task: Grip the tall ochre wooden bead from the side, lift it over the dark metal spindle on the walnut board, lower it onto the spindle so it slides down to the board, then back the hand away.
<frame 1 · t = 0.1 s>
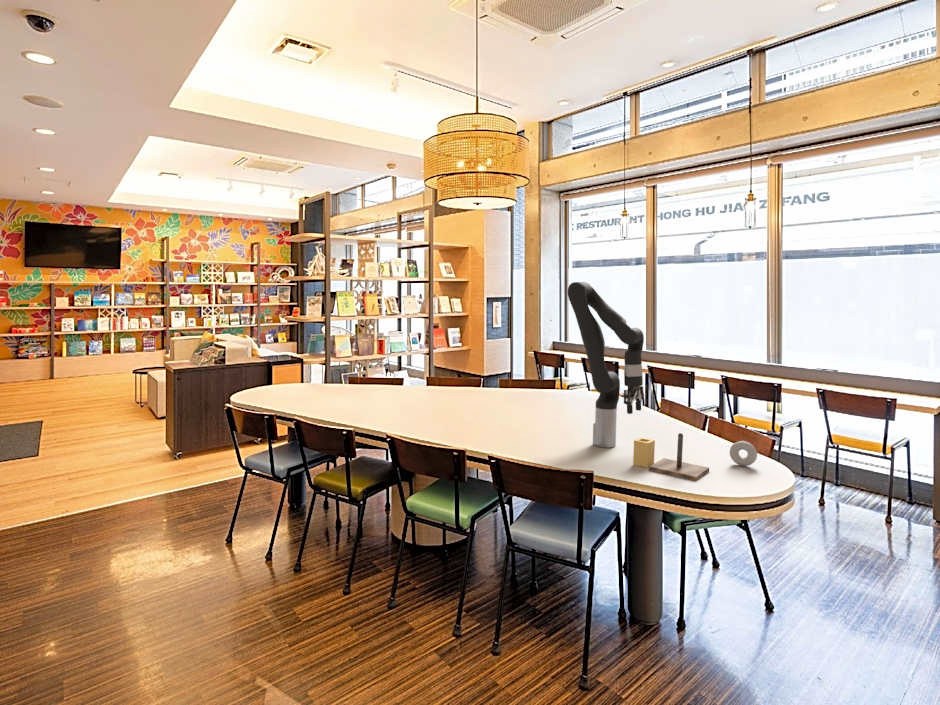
hand: (634, 411, 241), 17 cm above the table, tool pointing down, fingers open, 8 cm apart
spindle stand: (678, 470, 216), on the table
bead: (643, 464, 224), on the table
donut: (742, 466, 222), on the table
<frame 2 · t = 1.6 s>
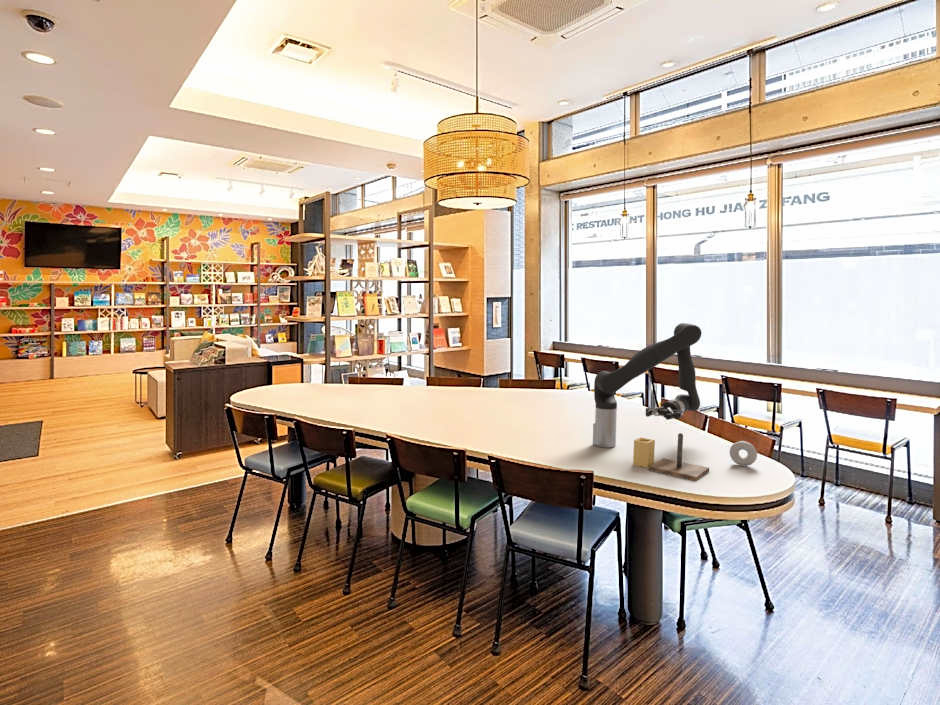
hand: (656, 415, 230), 18 cm above the table, tool horizontal, fingers open, 8 cm apart
nothing on the table moved.
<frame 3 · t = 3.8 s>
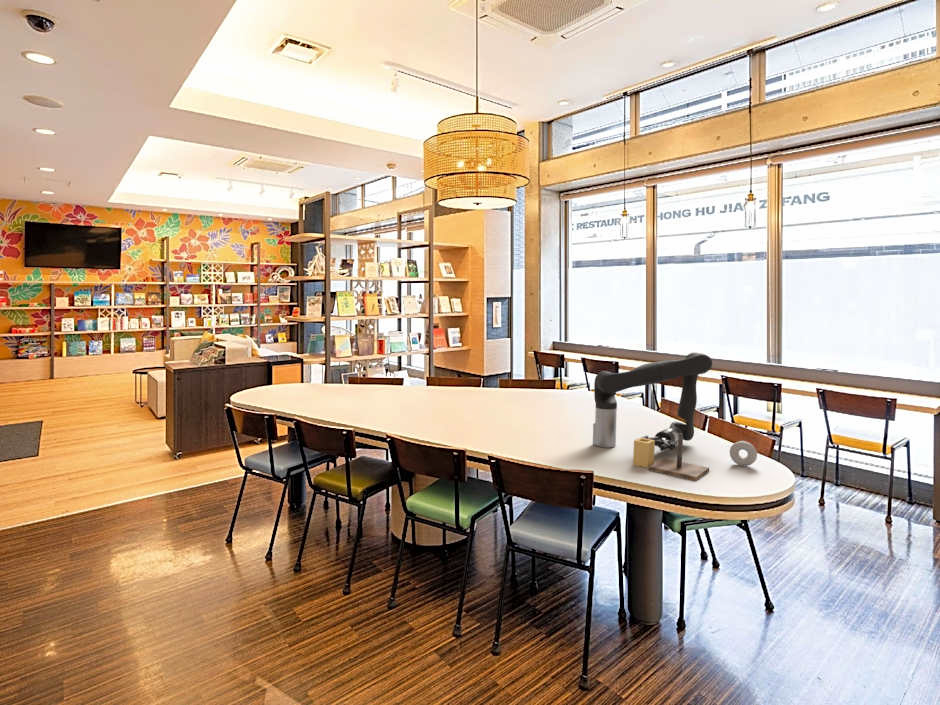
hand: (651, 446, 228), 6 cm above the table, tool horizontal, fingers open, 8 cm apart
nothing on the table moved.
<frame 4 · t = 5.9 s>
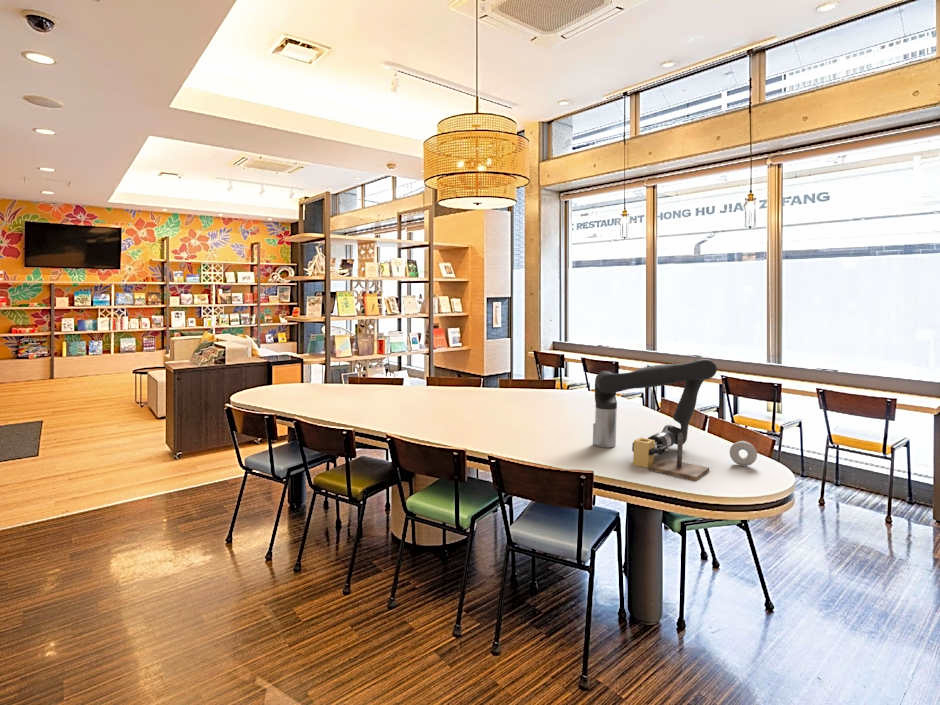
hand: (641, 451, 221), 6 cm above the table, tool horizontal, fingers closed on bead, 6 cm apart
bead: (643, 464, 224), on the table, touching gripper
everything else where it was.
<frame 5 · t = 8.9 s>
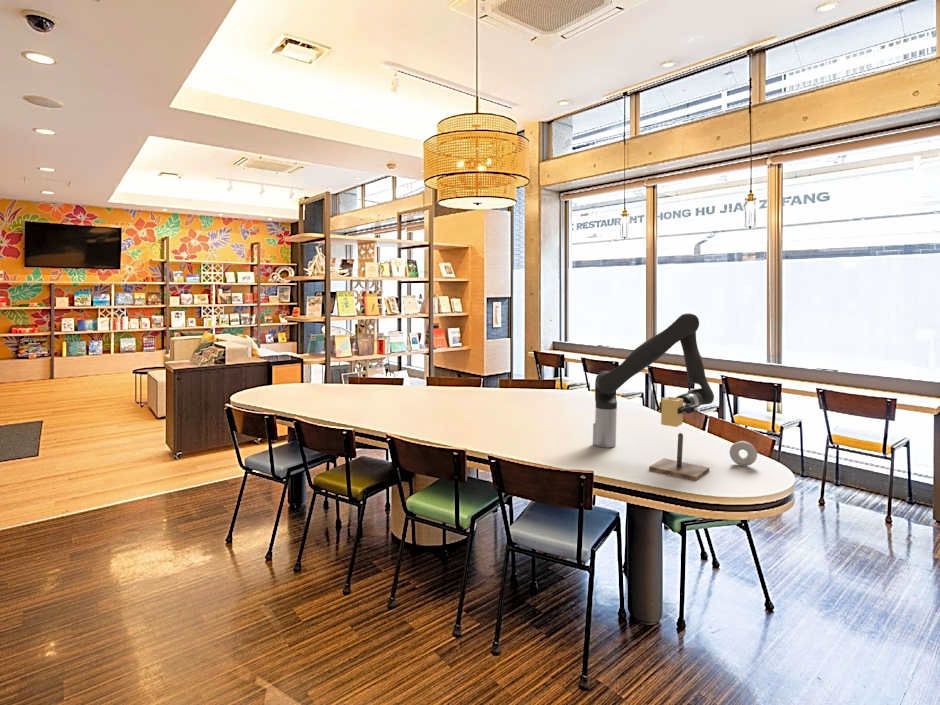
hand: (670, 410, 214), 24 cm above the table, tool horizontal, fingers closed on bead, 6 cm apart
bead: (671, 424, 216), point 18 cm above the table, touching gripper
everything else where it was.
when the fingers open (17 cm above the table, at t = 12.2 s): bead drops 9 cm, resting on spindle stand.
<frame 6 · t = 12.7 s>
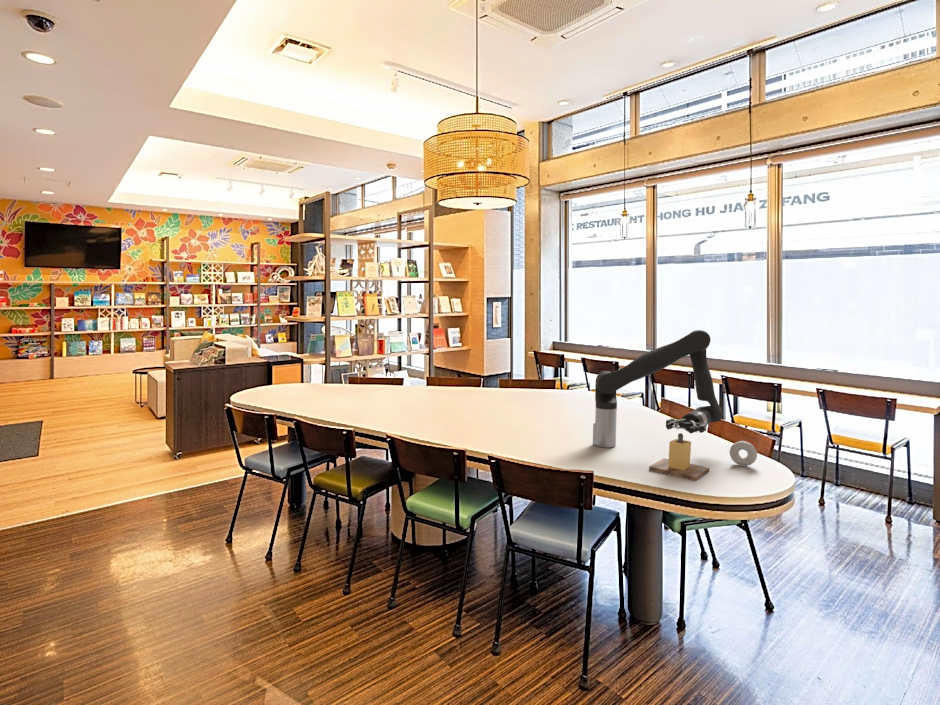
hand: (679, 428, 213), 17 cm above the table, tool horizontal, fingers open, 8 cm apart
bead: (679, 466, 216), point 1 cm above the table, touching spindle stand
everything else where it was.
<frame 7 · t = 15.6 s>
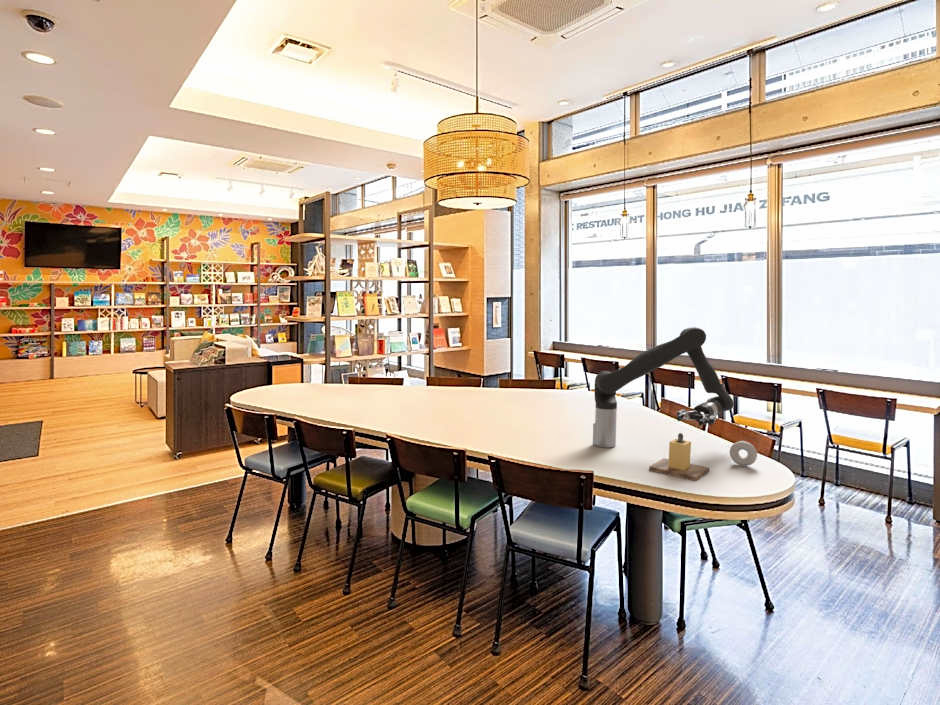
hand: (688, 420, 223), 18 cm above the table, tool horizontal, fingers open, 8 cm apart
nothing on the table moved.
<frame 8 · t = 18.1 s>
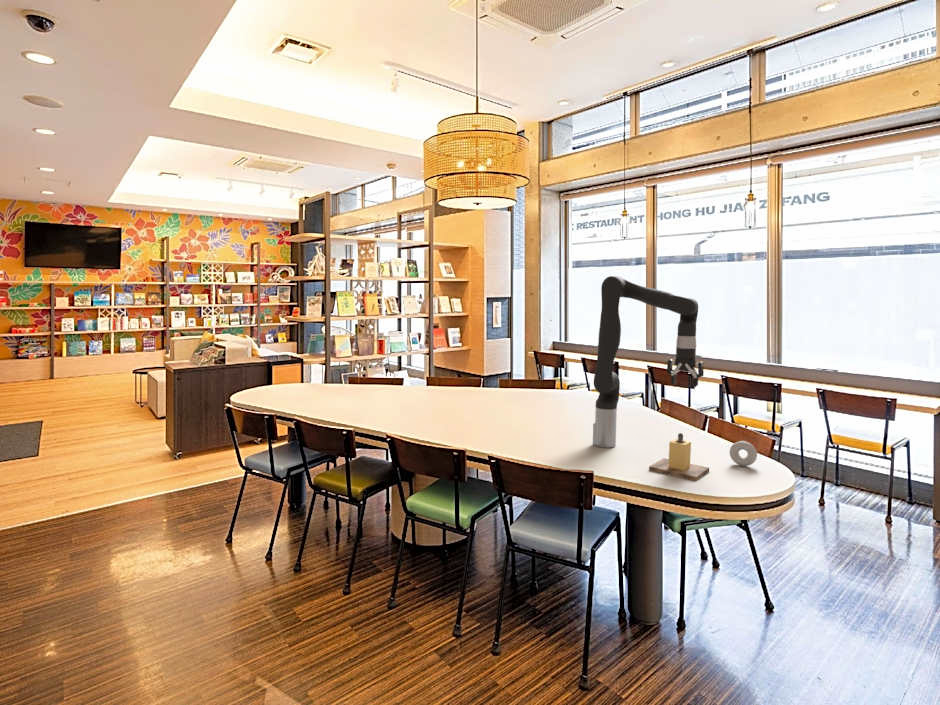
hand: (684, 385, 231), 30 cm above the table, tool pointing down, fingers open, 8 cm apart
nothing on the table moved.
at the end: bead 0.1 cm from the spindle stand (horizontally); bead point 1.5 cm above the table; the gripper is holding nothing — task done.
